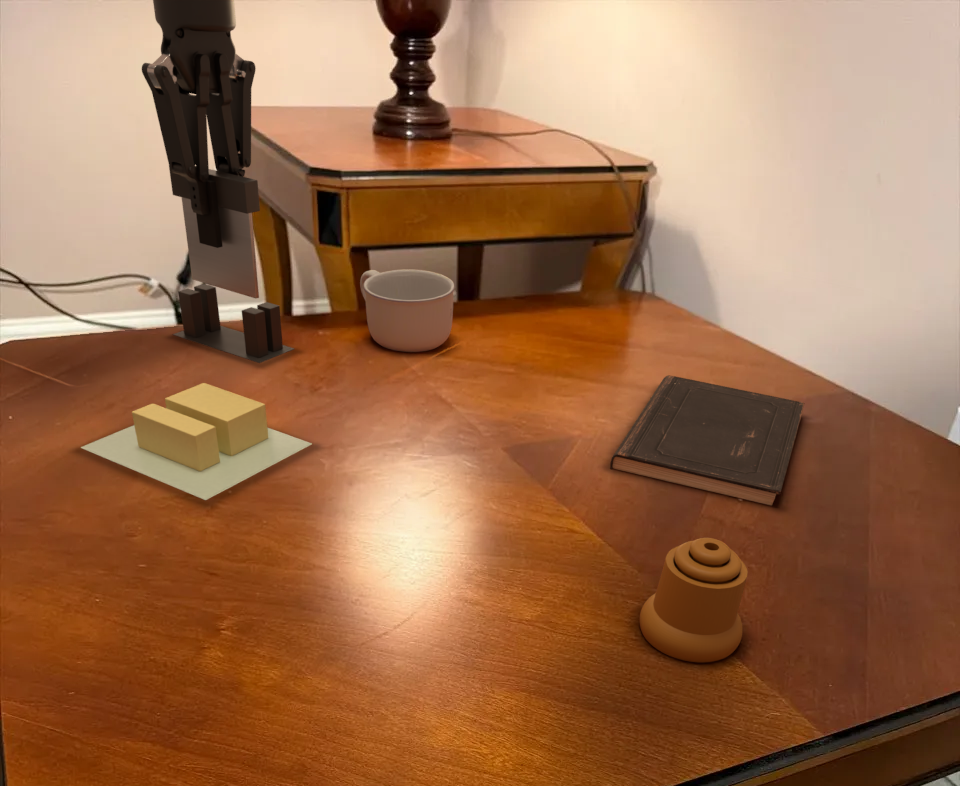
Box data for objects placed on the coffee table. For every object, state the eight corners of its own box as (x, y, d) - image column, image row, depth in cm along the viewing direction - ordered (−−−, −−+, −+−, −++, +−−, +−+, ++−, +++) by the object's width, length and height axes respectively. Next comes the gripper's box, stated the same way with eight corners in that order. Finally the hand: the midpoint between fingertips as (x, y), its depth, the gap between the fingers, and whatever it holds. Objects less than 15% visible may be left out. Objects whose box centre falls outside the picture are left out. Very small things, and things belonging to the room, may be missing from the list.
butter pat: (138, 446, 81) (131, 411, 79) (158, 437, 83) (152, 402, 80) (200, 472, 78) (194, 435, 76) (220, 462, 80) (215, 426, 77)
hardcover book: (798, 421, 98) (804, 402, 96) (774, 513, 81) (780, 491, 79) (660, 392, 102) (663, 373, 100) (608, 474, 85) (612, 452, 83)
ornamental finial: (705, 684, 60) (617, 636, 64) (755, 638, 65) (670, 596, 69) (733, 590, 56) (636, 544, 59) (785, 548, 60) (692, 507, 64)
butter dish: (81, 457, 81) (79, 447, 80) (194, 409, 90) (193, 400, 90) (207, 510, 75) (205, 499, 74) (313, 452, 84) (312, 443, 84)
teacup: (468, 355, 107) (472, 288, 102) (392, 369, 102) (392, 300, 97) (410, 321, 116) (411, 258, 111) (337, 332, 111) (335, 267, 106)
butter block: (170, 432, 84) (164, 398, 81) (208, 416, 87) (203, 382, 85) (231, 456, 81) (227, 421, 78) (268, 438, 84) (265, 403, 82)
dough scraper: (184, 279, 101) (168, 164, 94) (196, 276, 102) (182, 162, 95) (254, 301, 97) (244, 182, 90) (267, 297, 98) (257, 180, 91)
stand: (173, 342, 105) (165, 291, 101) (210, 329, 109) (203, 280, 105) (260, 371, 99) (255, 318, 96) (295, 356, 104) (291, 305, 100)
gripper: (157, -21, 75) (193, 263, 90) (276, -17, 86) (291, 237, 100) (98, -28, 78) (142, 248, 93) (220, -23, 89) (243, 224, 103)
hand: (219, 242), depth 97 cm, fingers closed on dough scraper, 2 cm apart
